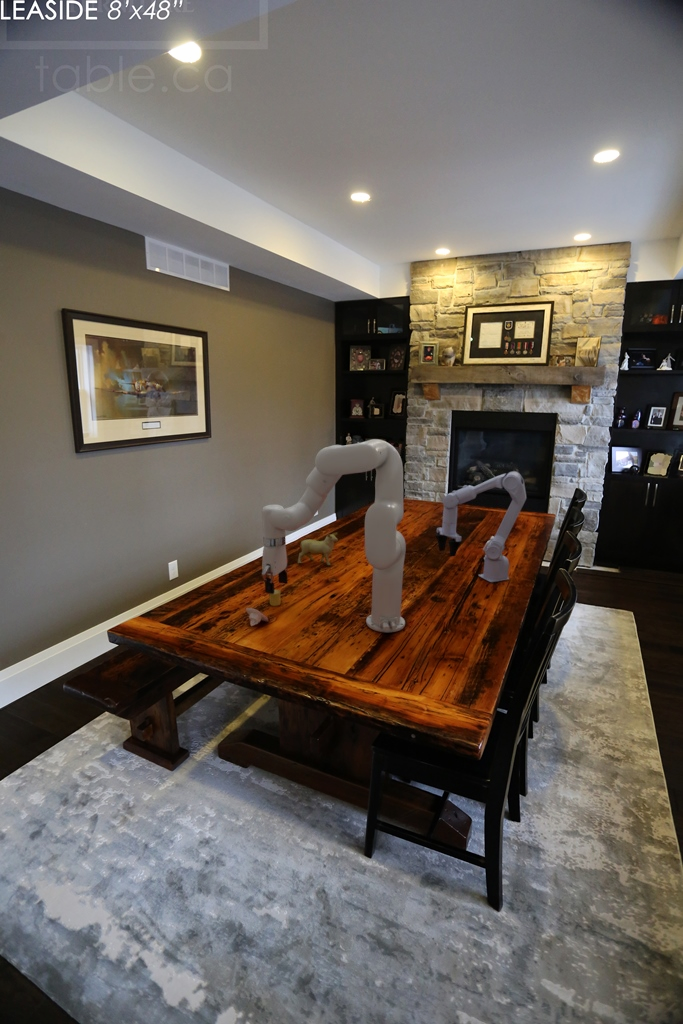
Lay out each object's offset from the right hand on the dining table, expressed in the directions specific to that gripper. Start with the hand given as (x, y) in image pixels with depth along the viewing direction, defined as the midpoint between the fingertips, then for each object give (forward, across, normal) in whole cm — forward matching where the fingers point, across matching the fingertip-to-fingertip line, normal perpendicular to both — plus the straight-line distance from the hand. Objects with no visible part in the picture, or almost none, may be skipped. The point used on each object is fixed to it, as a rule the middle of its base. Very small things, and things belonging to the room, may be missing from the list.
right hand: (447, 553), depth 210 cm
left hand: (+2, +6, -76) cm, 76 cm away
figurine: (+8, -3, +26) cm, 28 cm away
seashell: (+8, +18, -86) cm, 89 cm away
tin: (+8, +6, -77) cm, 77 cm away
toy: (+8, -26, -48) cm, 55 cm away
